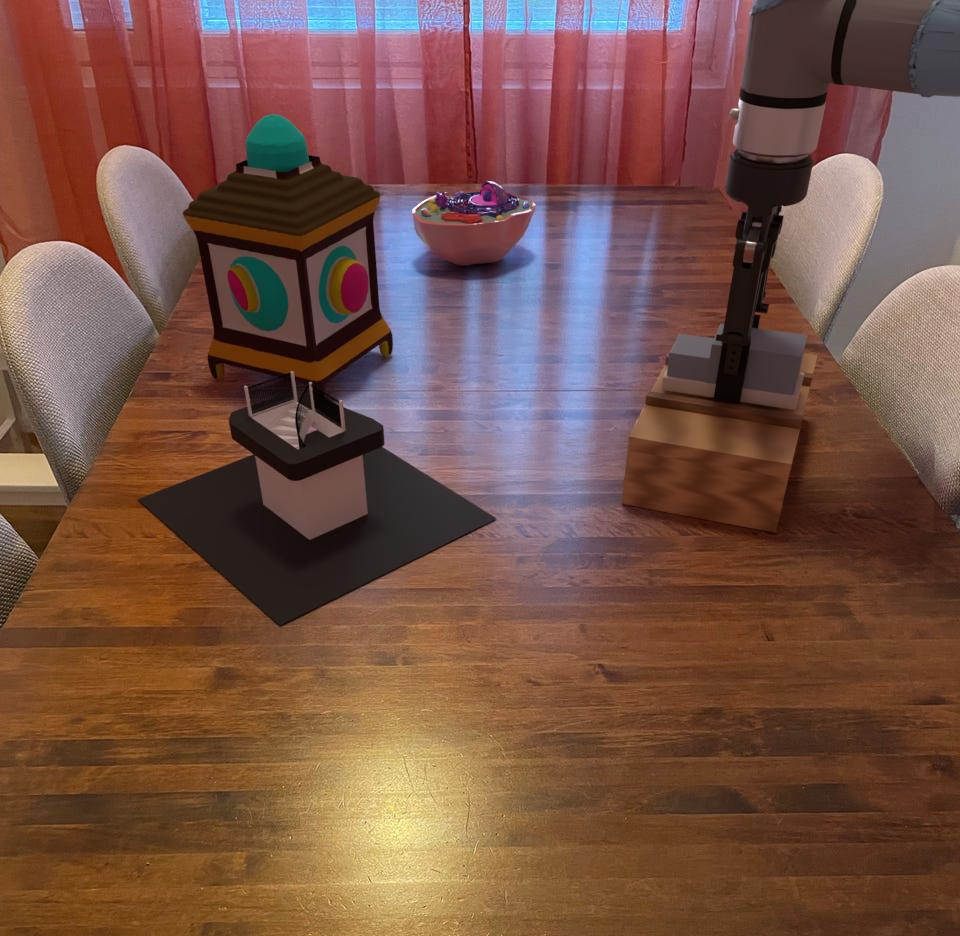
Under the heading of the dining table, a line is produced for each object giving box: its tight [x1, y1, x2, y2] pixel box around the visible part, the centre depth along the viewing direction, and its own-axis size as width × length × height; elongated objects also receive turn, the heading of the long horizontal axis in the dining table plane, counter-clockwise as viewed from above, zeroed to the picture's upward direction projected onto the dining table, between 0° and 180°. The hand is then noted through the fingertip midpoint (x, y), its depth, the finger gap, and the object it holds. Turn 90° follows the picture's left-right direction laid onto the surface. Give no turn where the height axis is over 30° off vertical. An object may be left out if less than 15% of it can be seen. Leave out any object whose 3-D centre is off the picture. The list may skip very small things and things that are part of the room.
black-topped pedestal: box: [137, 371, 498, 626], centre depth 98 cm, size 28×26×13 cm
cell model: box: [411, 180, 537, 266], centre depth 155 cm, size 17×20×11 cm
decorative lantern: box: [182, 114, 394, 399], centre depth 119 cm, size 20×20×30 cm
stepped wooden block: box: [621, 352, 818, 534], centre depth 108 cm, size 16×26×9 cm, turn 160°
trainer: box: [662, 323, 808, 410], centre depth 103 cm, size 14×6×6 cm, turn 70°
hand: (732, 385), depth 105 cm, fingers closed on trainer, 6 cm apart
